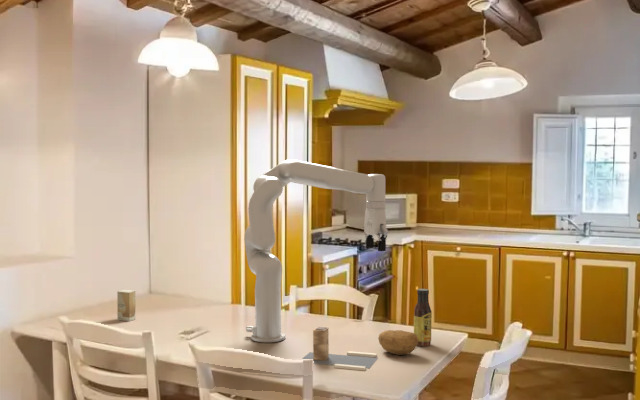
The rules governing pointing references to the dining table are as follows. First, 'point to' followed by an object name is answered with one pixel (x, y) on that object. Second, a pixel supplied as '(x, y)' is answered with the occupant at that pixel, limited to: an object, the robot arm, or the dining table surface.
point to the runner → (347, 360)
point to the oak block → (320, 343)
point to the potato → (398, 341)
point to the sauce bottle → (423, 318)
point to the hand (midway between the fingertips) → (375, 249)
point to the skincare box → (126, 305)
